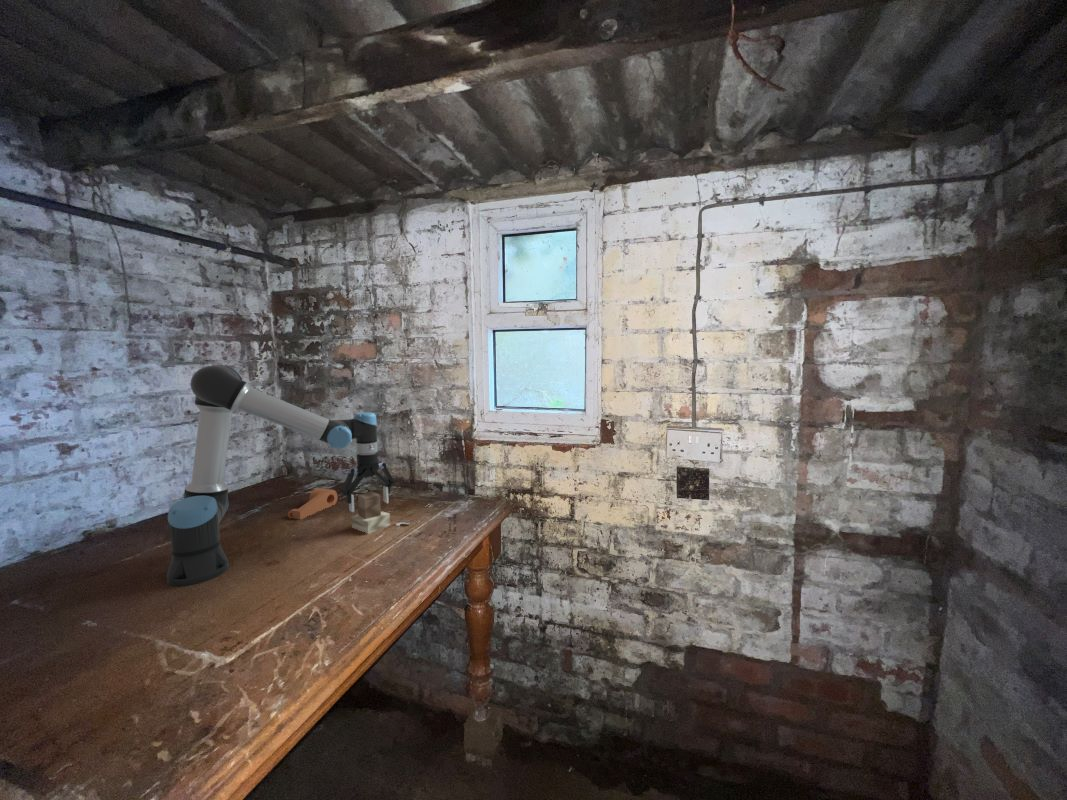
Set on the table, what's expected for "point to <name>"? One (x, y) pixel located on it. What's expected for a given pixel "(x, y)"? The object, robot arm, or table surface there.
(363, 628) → the table surface
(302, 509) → the crank
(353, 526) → the pale square block
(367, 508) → the walnut block
